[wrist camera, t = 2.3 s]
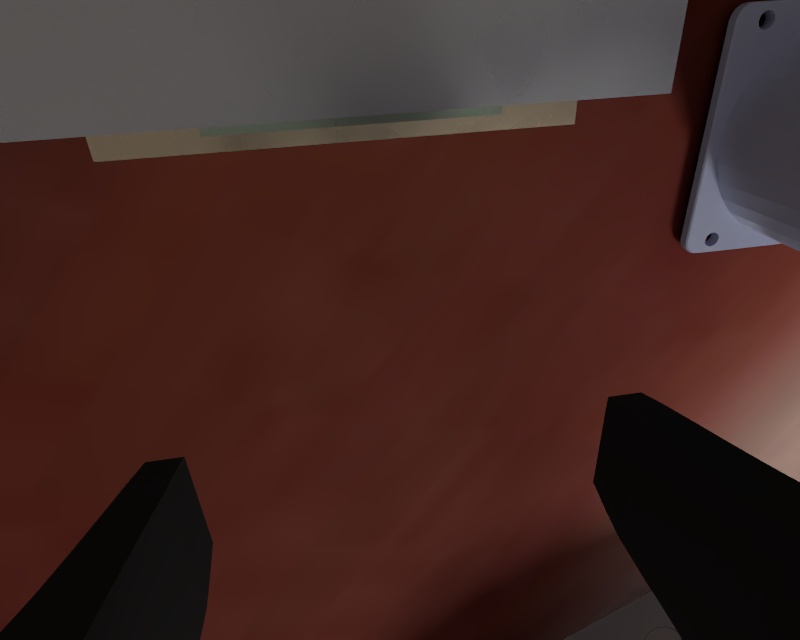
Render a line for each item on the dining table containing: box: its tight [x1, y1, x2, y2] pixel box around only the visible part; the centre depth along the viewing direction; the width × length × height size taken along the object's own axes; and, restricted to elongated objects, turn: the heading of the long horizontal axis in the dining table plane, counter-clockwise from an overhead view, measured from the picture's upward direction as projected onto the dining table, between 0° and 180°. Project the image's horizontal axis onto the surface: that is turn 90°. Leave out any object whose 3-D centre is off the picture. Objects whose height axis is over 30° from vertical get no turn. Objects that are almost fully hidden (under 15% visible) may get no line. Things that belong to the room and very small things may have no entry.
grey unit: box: [0, 0, 688, 162], centre depth 12 cm, size 14×6×7 cm, turn 93°
